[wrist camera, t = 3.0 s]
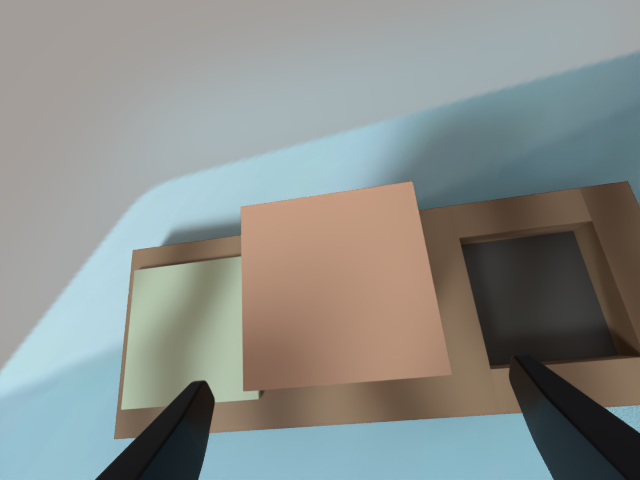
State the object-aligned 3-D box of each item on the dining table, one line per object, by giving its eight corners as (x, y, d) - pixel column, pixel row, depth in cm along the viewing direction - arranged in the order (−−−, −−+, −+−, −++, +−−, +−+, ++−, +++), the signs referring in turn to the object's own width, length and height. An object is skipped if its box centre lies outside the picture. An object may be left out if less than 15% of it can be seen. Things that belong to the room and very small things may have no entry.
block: (390, 263, 18) (412, 181, 9) (406, 355, 17) (451, 374, 7) (305, 273, 19) (240, 206, 9) (312, 363, 17) (243, 391, 8)
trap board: (603, 196, 20) (632, 178, 17) (683, 392, 16) (731, 400, 14) (152, 257, 23) (129, 248, 21) (138, 429, 20) (110, 440, 17)
